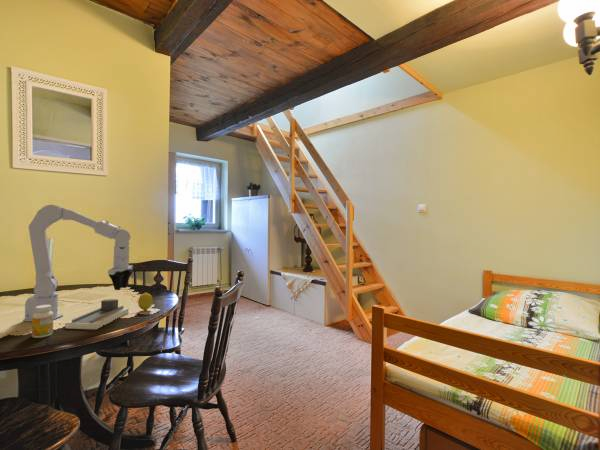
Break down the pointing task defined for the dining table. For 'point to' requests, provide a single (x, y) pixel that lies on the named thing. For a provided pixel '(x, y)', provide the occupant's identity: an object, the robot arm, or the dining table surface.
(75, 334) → the dining table surface
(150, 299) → the yellow oval piece
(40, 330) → the supplement bottle
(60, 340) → the dining table surface
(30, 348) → the dining table surface
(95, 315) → the fader console
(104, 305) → the fader knob
